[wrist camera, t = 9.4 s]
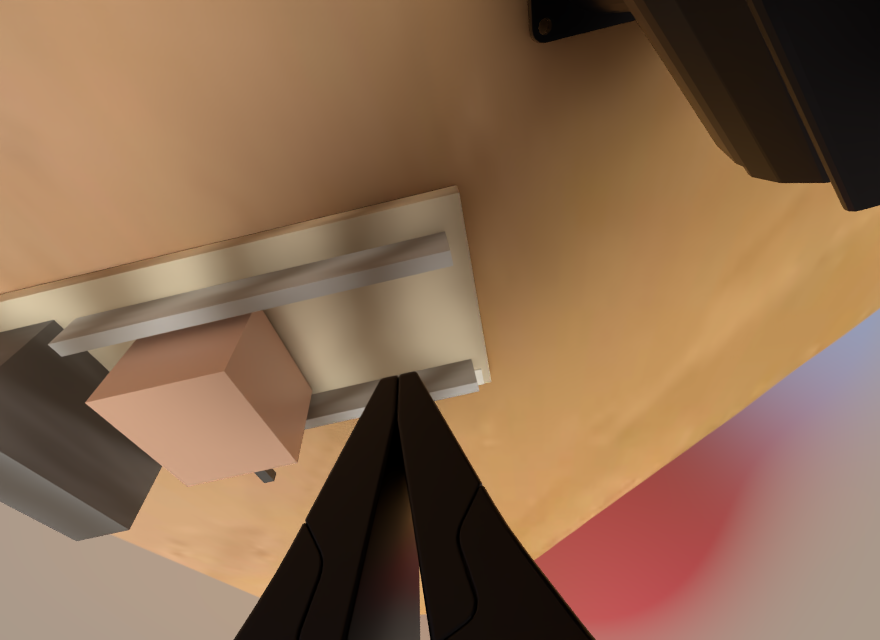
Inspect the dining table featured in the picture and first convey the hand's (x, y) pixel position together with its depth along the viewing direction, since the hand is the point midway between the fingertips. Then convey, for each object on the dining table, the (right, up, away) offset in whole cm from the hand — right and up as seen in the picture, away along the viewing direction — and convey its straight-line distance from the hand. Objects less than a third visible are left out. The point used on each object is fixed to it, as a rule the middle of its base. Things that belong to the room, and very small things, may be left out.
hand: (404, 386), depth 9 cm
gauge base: (-9, 0, +14) cm, 16 cm away
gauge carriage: (-11, -2, +14) cm, 17 cm away
